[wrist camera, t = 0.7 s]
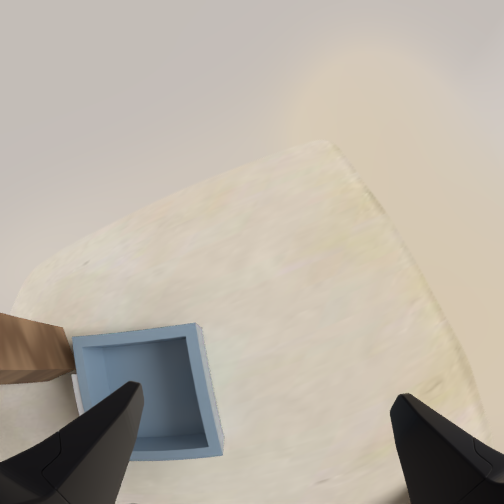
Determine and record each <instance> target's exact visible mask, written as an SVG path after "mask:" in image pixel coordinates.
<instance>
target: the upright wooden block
mask: <svg viewBox="0 0 504 504" xmlns="http://www.w3.org/2000/svg"><path fill="white" fill-rule="evenodd" d="M75 369H76V365H75V359H74V357H73V354H72V351H71V349H70V346H69V344H68V341H67V338H66V335H65V332H64V330H63V327H58V326H53V325H49V324H44V323H39V322H35V321H31V320H27V319H22V318H18V317H14V316H11V315H6V314H3V313H0V385H1V384H19V383H33V382H44V381H50V380H53V379H55V378H57V377H59V376H61V375H64V374H66V373H68V372H70V371H72V370H75Z"/></svg>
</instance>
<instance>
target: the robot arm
mask: <svg viewBox="0 0 504 504" xmlns="http://www.w3.org/2000/svg"><path fill="white" fill-rule="evenodd" d="M143 407H144V395H143V389H142V385H141V383H139V382H135V381H128V382H126V383H125V384H124V385H122V386H121V387H120V388H118V389H117V390H115V391H114V392H113V393H111V394H110V395H109V396H107V397H106V398H104V399H103V400H102V401H100V402H99V403H97V404H96V405H95V406H93V407H92V408H90V409H89V410H88V411H86V412H85V413H83V414H82V415H80V416H79V417H78V418H76V419H75V420H73V421H72V422H70V423H69V424H68V425H66V426H65V427H63V428H62V429H60V430H59V431H57V432H56V433H54V434H53V435H52V436H50V437H48V438H47V439H45V440H44V441H42V442H41V443H39V444H37V445H35V446H33V447H31V448H30V449H28V450H26V451H24V452H21V453H19V454H17V455H15V456H13V457H11V458H9V459H7V460H5V461H2V462H0V504H115V501H116V498H117V495H118V492H119V489H120V486H121V483H122V480H123V477H124V474H125V471H126V468H127V465H128V463H129V460H130V457H131V454H132V451H133V448H134V445H135V442H136V438H137V434H138V429H139V425H140V420H141V416H142V412H143ZM390 417H391V422H392V428H393V433H394V439H395V444H396V448H397V452H398V456H399V459H400V463H401V466H402V470H403V474H404V477H405V481H406V485H407V489H408V493H409V497H410V501H411V504H504V454H502V453H500V452H498V451H496V450H494V449H492V448H491V447H489V446H487V445H485V444H484V443H482V442H481V441H479V440H478V439H476V438H475V437H473V436H471V435H470V434H468V433H467V432H465V431H464V430H462V429H461V428H459V427H458V426H456V425H455V424H454V423H452V422H451V421H449V420H448V419H446V418H445V417H443V416H442V415H440V414H439V413H437V412H436V411H434V410H433V409H431V408H430V407H429V406H427V405H426V404H424V403H423V402H421V401H420V400H418V399H417V398H415V397H414V396H413V395H411V394H409V393H405V394H400V395H398V397H397V398H396V400H395V402H394V404H393V406H392V407H391V410H390Z"/></svg>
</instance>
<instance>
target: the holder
mask: <svg viewBox="0 0 504 504" xmlns="http://www.w3.org/2000/svg"><path fill="white" fill-rule="evenodd" d="M72 341H73V350H74V358H75V365H76V371H77V374H71V376H72V382H73V387H74V393H75V398H76V403H77V407H78V412H79V416H80V415H82V414H83V413H85V412H86V411H88V410H89V409H90V408H92V407H93V406H95V405H96V404H97V403H99V402H100V401H102V400H103V399H104V398H106V397H107V396H109V395H110V394H111V393H113V392H114V391H115V390H117V389H118V388H120V387H121V386H122V385H124V384H125V383H126V382H128V381H135V382H139V383H141V385H142V389H143V395H144V407H143V412H142V416H141V420H140V425H139V429H138V434H137V438H136V442H135V445H134V448H133V451H132V454H131V457H130V460H129V461H163V460H183V459H195V458H206V457H214V456H222V455H223V448H224V434H223V430H222V425H221V421H220V417H219V412H218V408H217V403H216V398H215V394H214V389H213V384H212V379H211V374H210V369H209V364H208V358H207V353H206V348H205V342H204V336H203V331H202V327H201V326H199V325H198V324H197V323H190V324H183V325H176V326H169V327H161V328H153V329H145V330H137V331H128V332H119V333H110V334H100V335H89V336H77V337H72Z"/></svg>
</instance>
